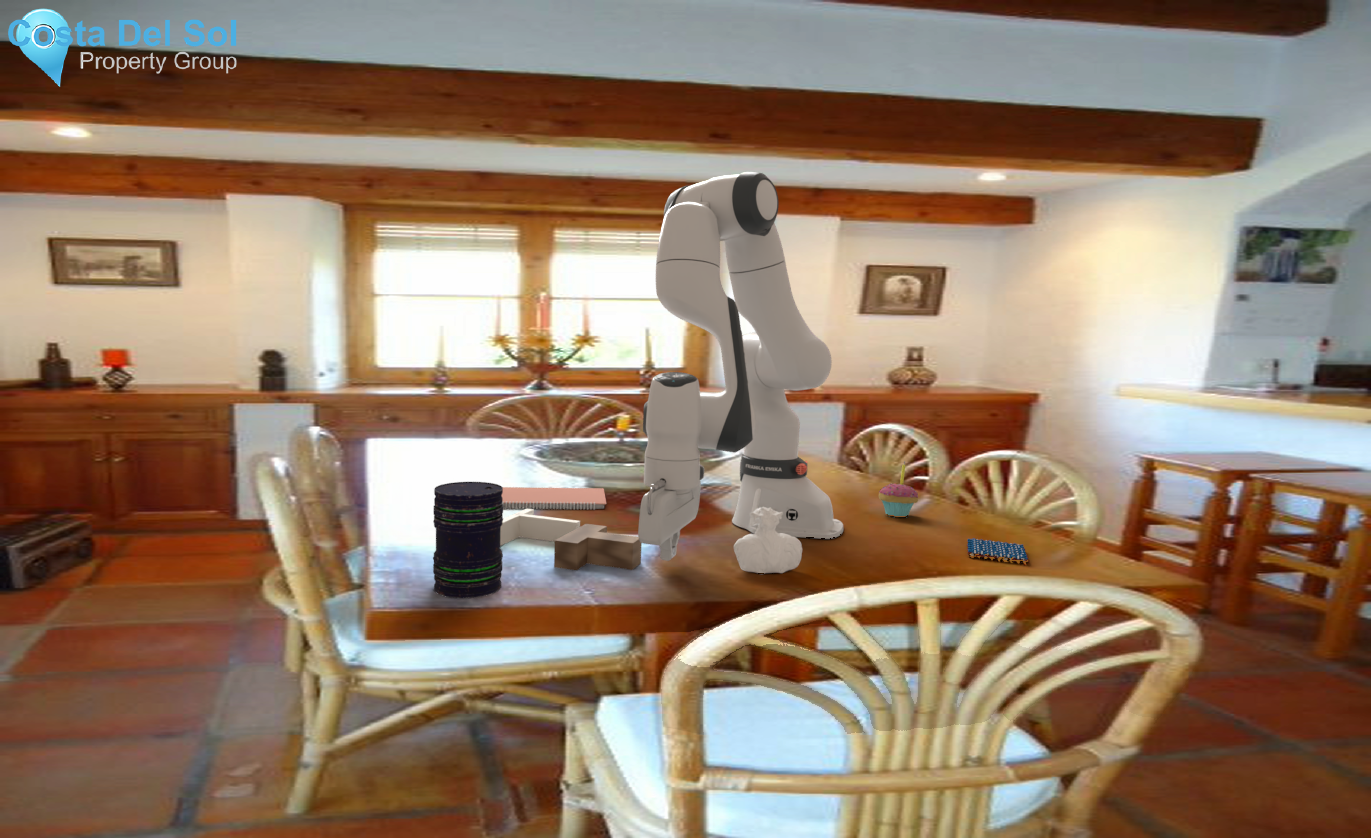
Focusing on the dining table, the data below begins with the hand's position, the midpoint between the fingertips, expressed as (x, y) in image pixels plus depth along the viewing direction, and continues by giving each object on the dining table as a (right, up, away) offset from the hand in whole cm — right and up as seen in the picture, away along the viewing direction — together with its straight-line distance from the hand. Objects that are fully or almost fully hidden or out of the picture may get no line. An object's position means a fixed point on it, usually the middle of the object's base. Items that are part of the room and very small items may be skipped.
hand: (668, 558), depth 129 cm
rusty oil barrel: (-29, -3, -11) cm, 32 cm away
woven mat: (+61, -3, +18) cm, 63 cm away
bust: (+16, -3, +4) cm, 17 cm away
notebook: (-29, +4, +47) cm, 55 cm away
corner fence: (-25, 0, +8) cm, 27 cm away
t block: (-11, -1, +4) cm, 12 cm away
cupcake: (+50, +1, +46) cm, 68 cm away
